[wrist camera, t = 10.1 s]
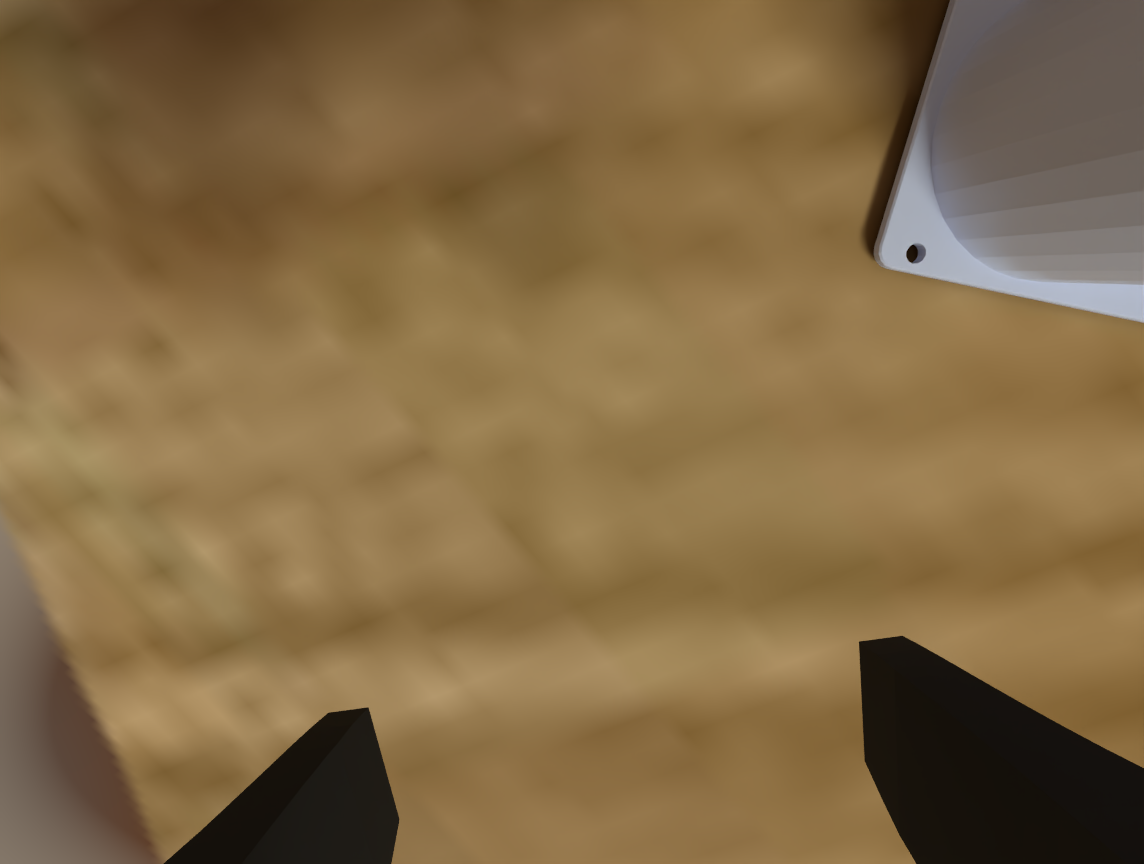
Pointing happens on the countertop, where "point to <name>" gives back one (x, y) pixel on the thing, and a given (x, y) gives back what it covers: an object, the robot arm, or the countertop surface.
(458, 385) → the countertop surface
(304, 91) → the countertop surface
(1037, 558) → the countertop surface
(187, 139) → the countertop surface
